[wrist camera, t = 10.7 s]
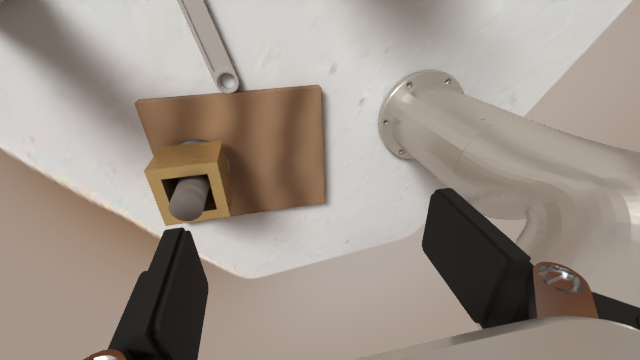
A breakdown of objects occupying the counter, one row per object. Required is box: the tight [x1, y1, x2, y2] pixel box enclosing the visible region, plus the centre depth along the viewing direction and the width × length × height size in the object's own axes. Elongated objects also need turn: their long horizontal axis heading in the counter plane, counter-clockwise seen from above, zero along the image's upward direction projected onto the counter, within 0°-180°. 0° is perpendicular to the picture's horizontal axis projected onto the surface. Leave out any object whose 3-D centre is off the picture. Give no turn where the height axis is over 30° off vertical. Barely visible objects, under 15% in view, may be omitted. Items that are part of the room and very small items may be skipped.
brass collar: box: [144, 140, 233, 226], centre depth 34 cm, size 7×7×6 cm
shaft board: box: [135, 85, 325, 224], centre depth 34 cm, size 21×17×11 cm
